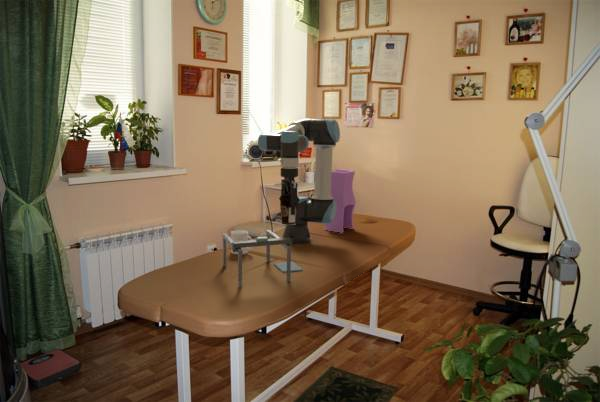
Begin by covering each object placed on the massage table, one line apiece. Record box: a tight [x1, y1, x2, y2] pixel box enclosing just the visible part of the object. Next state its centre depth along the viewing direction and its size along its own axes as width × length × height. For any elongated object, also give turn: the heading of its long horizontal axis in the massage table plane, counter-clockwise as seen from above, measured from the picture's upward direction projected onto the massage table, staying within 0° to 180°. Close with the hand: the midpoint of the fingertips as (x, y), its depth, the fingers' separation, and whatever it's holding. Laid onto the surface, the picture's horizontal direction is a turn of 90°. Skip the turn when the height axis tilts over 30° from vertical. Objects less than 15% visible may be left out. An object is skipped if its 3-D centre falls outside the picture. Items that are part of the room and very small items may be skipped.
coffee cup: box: [278, 193, 300, 226], centre depth 208 cm, size 9×8×13 cm
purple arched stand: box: [323, 168, 356, 234], centre depth 282 cm, size 14×14×35 cm
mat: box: [273, 261, 303, 273], centre depth 213 cm, size 12×9×1 cm
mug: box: [230, 229, 254, 256], centre depth 233 cm, size 12×8×10 cm
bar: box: [230, 236, 293, 252], centre depth 192 cm, size 3×24×5 cm, turn 112°
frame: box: [222, 229, 292, 288], centre depth 202 cm, size 28×22×15 cm
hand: (288, 220), depth 209 cm, fingers closed on coffee cup, 7 cm apart
